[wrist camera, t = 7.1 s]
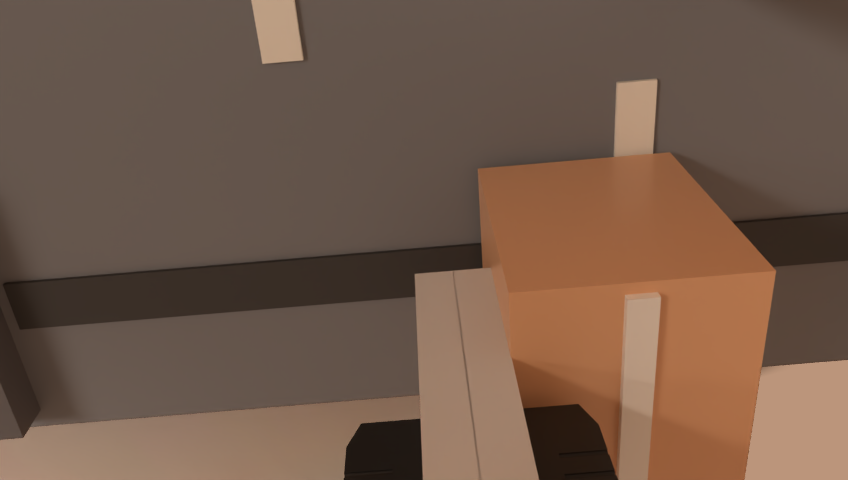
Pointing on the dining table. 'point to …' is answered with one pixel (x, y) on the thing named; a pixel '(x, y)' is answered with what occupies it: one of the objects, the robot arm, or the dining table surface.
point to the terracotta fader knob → (631, 307)
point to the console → (366, 177)
